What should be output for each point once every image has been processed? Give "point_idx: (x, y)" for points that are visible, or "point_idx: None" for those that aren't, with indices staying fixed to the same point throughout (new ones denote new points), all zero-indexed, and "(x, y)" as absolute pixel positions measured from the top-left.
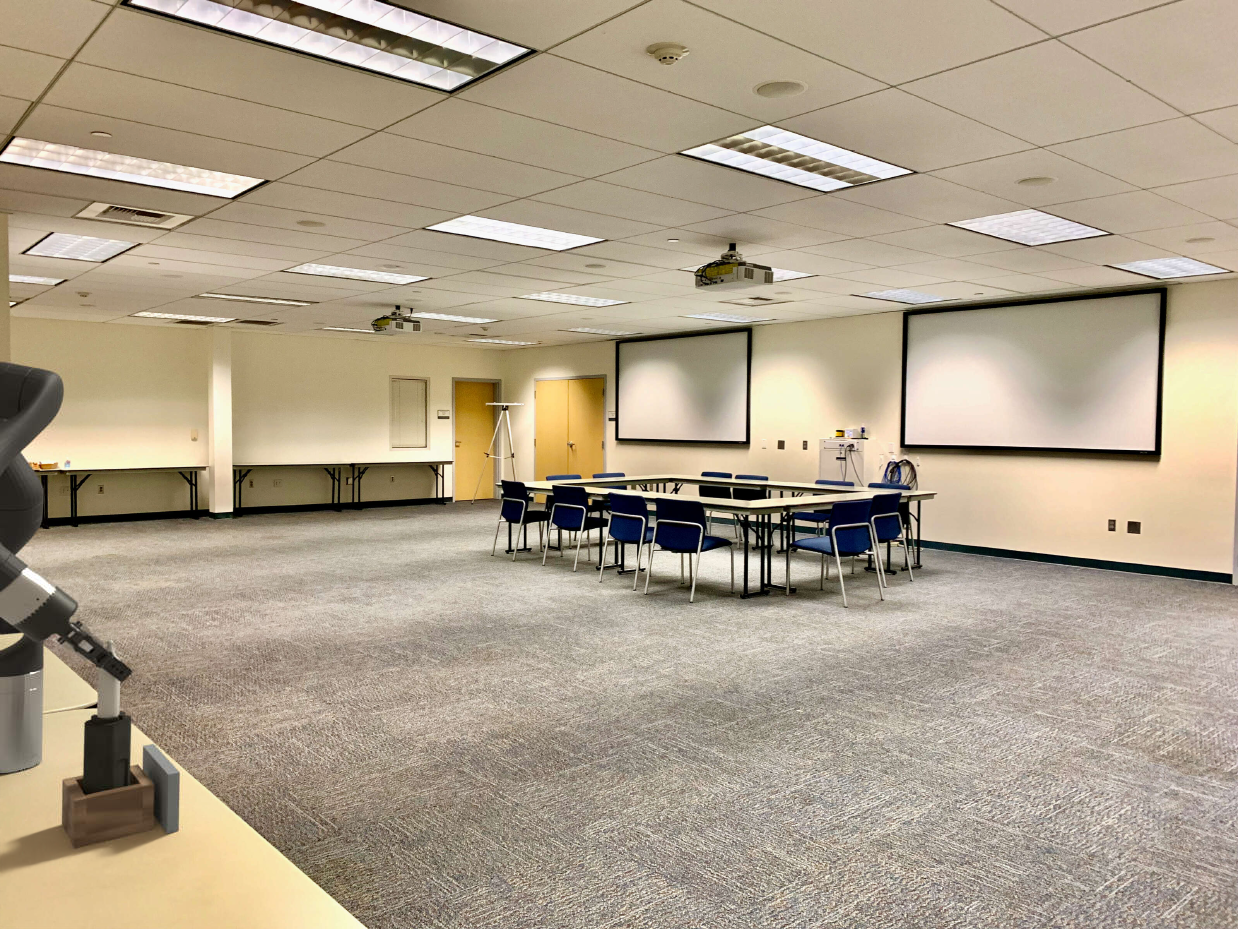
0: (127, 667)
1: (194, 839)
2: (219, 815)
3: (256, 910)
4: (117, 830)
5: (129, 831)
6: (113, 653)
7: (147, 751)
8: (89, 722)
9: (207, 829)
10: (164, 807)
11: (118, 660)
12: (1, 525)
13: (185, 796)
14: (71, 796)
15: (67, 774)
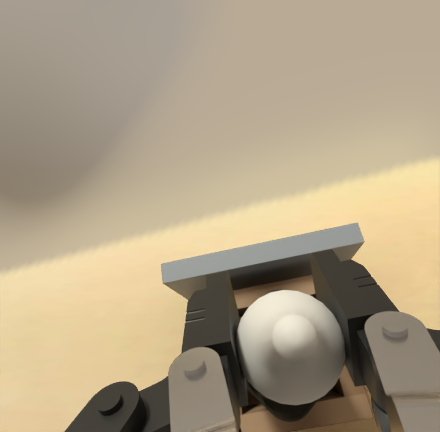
0: (340, 262)
1: (378, 235)
2: (301, 202)
3: None
4: None
5: None
6: (391, 318)
7: (200, 275)
8: (300, 407)
9: (347, 218)
10: None
11: (361, 295)
12: None
13: (205, 241)
14: (334, 423)
15: (4, 415)
